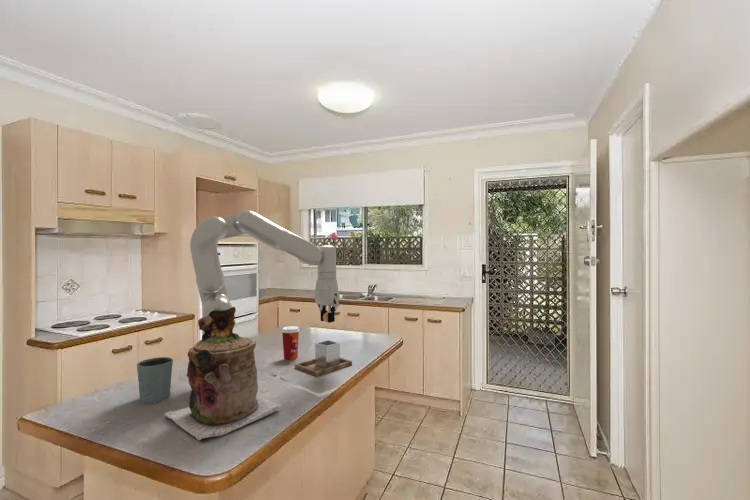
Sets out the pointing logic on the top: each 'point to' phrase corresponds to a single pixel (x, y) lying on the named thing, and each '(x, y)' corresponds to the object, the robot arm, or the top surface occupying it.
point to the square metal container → (327, 354)
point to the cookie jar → (221, 381)
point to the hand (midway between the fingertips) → (327, 320)
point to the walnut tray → (317, 371)
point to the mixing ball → (325, 317)
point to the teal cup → (154, 379)
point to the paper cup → (290, 342)
